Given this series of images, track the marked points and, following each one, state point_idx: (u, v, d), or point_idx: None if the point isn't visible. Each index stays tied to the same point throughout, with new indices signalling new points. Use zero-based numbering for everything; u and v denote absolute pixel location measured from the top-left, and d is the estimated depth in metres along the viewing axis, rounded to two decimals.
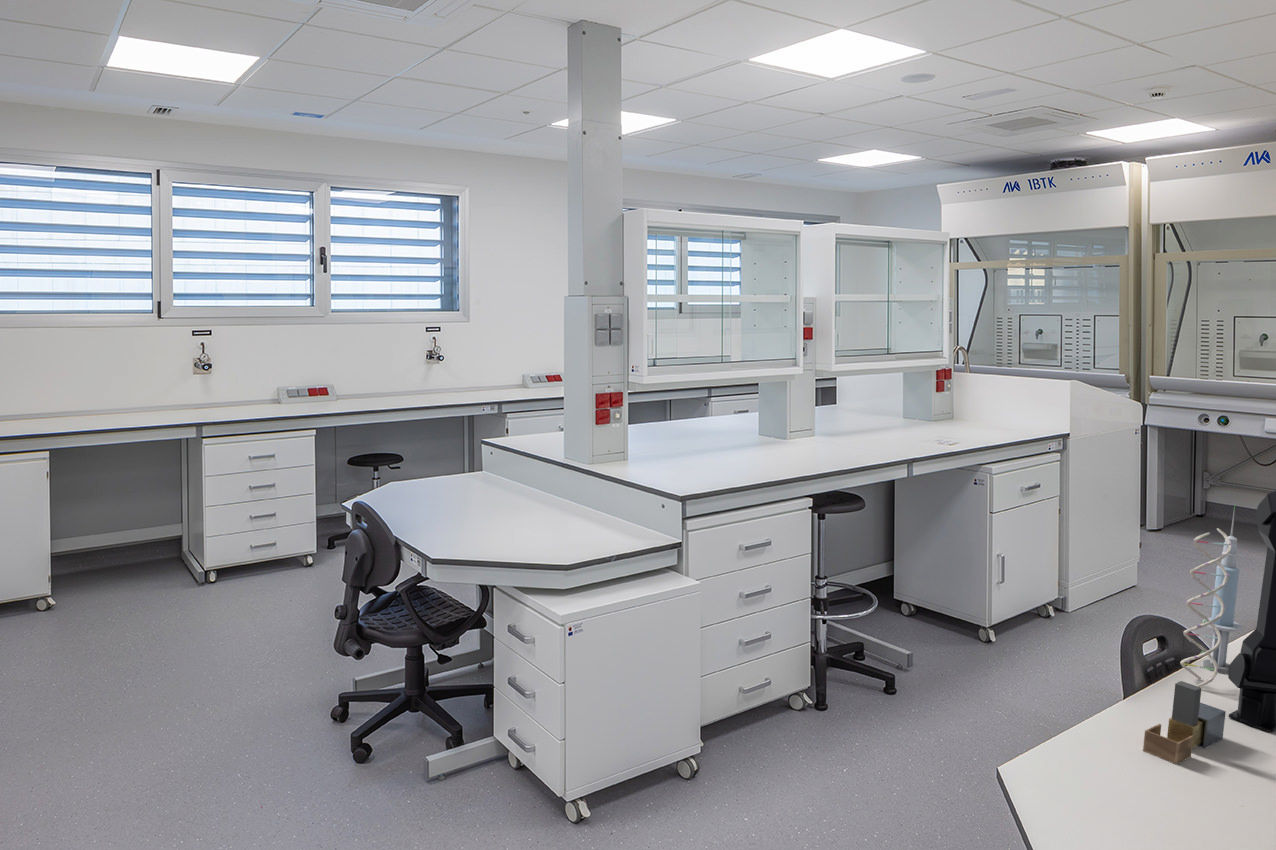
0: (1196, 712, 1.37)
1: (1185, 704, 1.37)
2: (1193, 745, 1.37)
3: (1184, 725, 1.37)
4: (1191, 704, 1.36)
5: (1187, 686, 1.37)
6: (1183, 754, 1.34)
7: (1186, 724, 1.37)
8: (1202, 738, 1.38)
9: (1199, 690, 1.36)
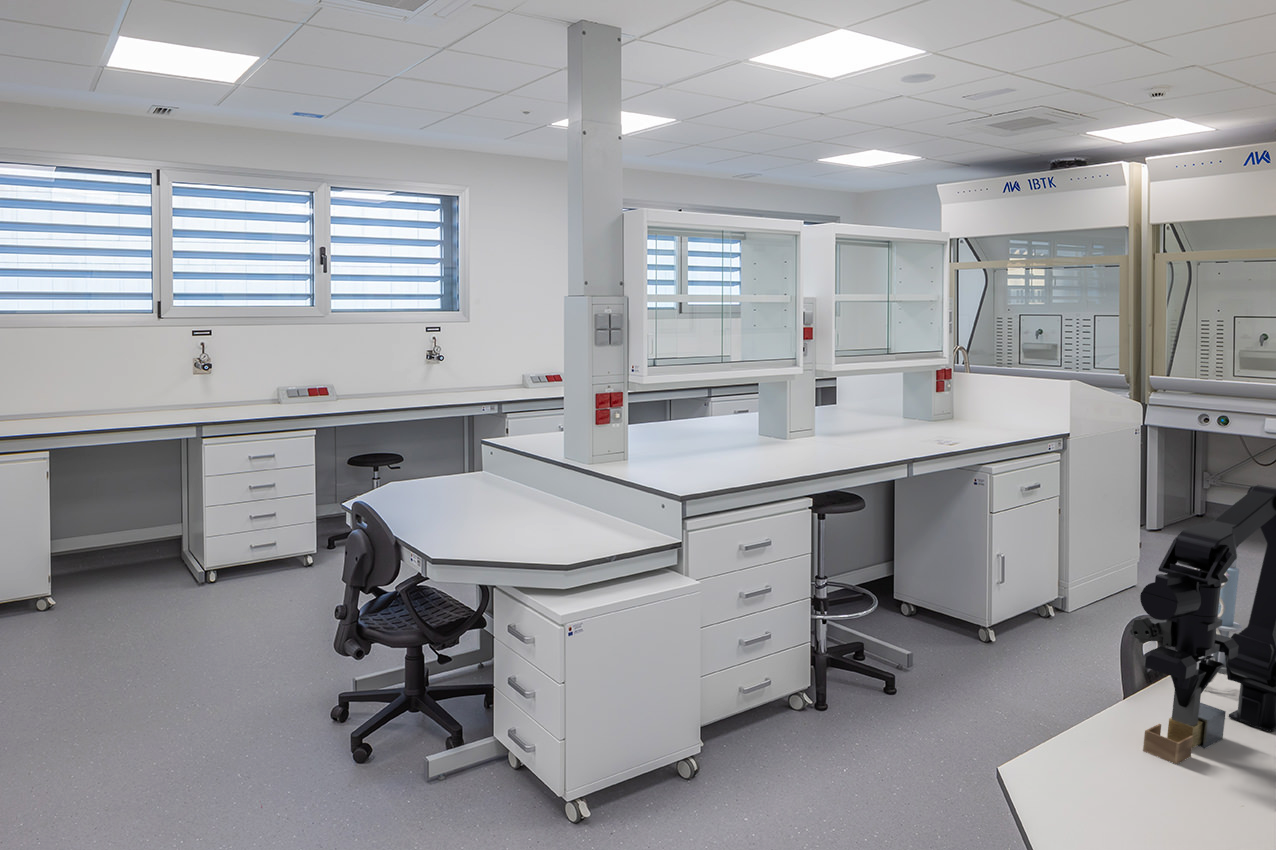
0: (1196, 712, 1.37)
1: None
2: (1193, 745, 1.37)
3: (1184, 725, 1.37)
4: (1191, 704, 1.36)
5: None
6: (1183, 754, 1.34)
7: (1186, 724, 1.37)
8: (1202, 738, 1.38)
9: (1199, 690, 1.36)
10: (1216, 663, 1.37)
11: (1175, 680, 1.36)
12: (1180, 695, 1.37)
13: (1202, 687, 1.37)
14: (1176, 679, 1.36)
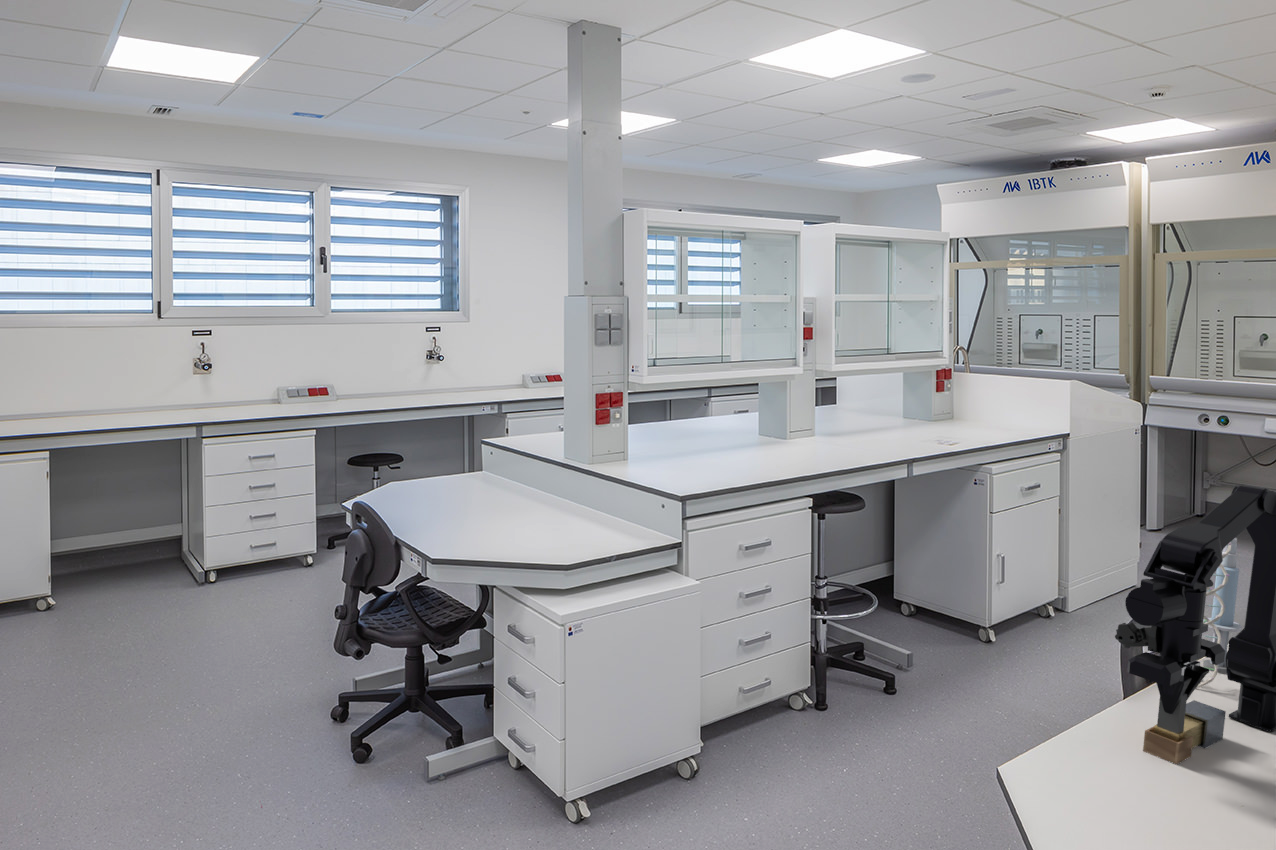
0: (1182, 719, 1.34)
1: None
2: None
3: (1170, 732, 1.34)
4: (1176, 710, 1.34)
5: None
6: (1183, 754, 1.34)
7: (1171, 731, 1.34)
8: None
9: (1185, 696, 1.34)
10: (1202, 669, 1.34)
11: (1160, 686, 1.34)
12: (1166, 701, 1.34)
13: (1188, 693, 1.34)
14: (1161, 685, 1.34)
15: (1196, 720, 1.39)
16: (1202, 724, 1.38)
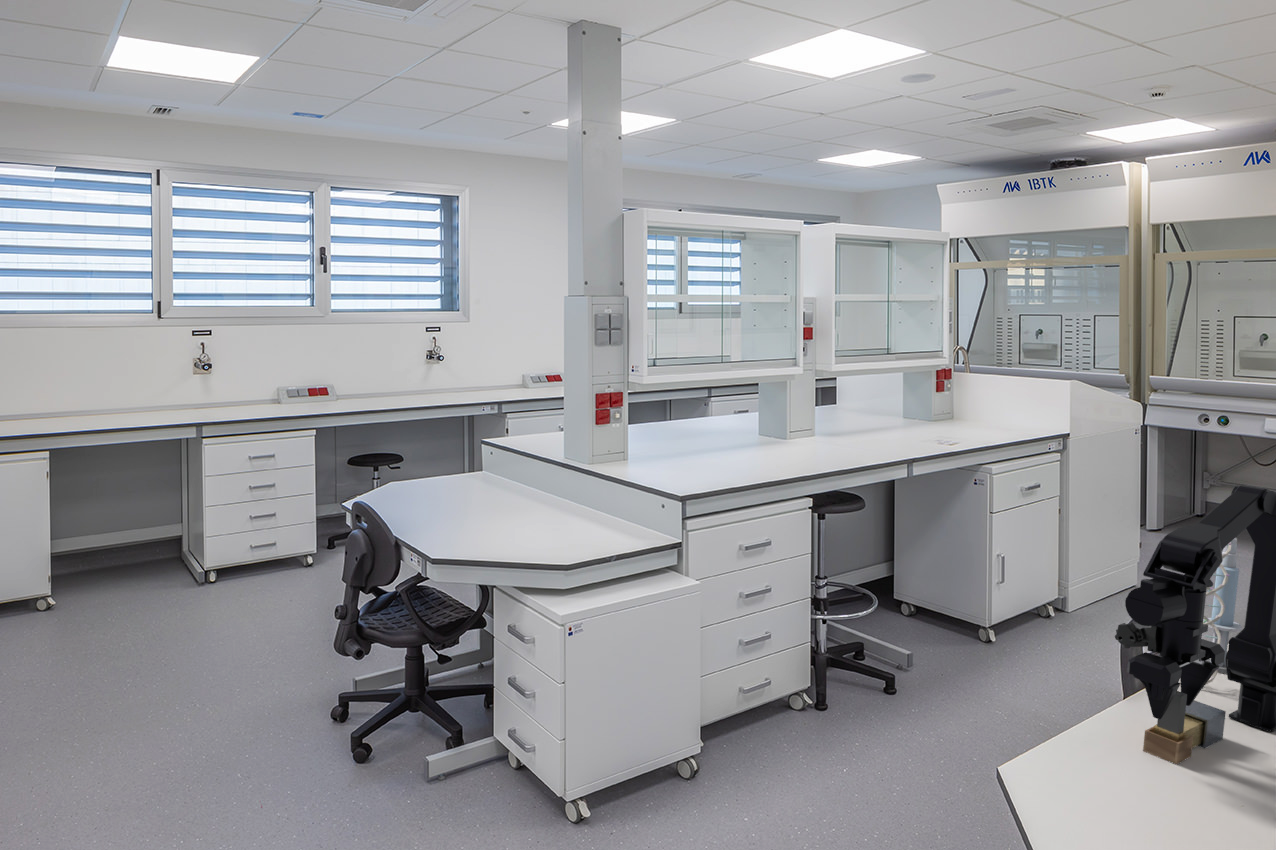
0: (1182, 719, 1.34)
1: (1171, 710, 1.34)
2: None
3: (1169, 732, 1.34)
4: (1176, 711, 1.34)
5: None
6: (1183, 754, 1.34)
7: (1171, 731, 1.34)
8: None
9: (1184, 696, 1.34)
10: (1212, 665, 1.36)
11: (1149, 691, 1.32)
12: (1155, 706, 1.32)
13: (1198, 689, 1.36)
14: (1150, 690, 1.32)
15: (1196, 720, 1.39)
16: (1202, 724, 1.38)
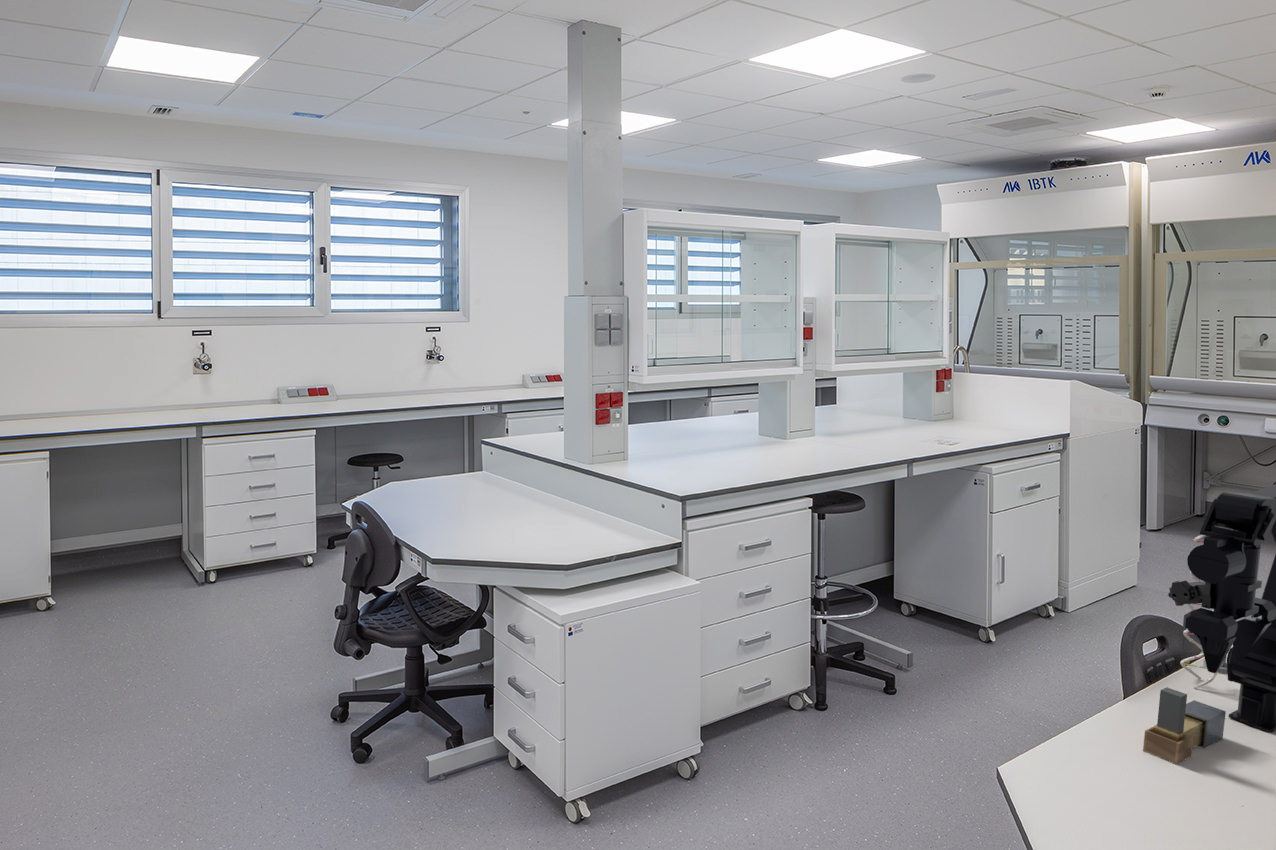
0: (1182, 719, 1.34)
1: (1171, 710, 1.34)
2: None
3: (1169, 732, 1.34)
4: (1176, 711, 1.34)
5: (1172, 693, 1.34)
6: (1183, 754, 1.34)
7: (1171, 731, 1.34)
8: None
9: (1184, 696, 1.34)
10: (1264, 622, 1.39)
11: (1204, 646, 1.35)
12: (1210, 661, 1.35)
13: (1250, 645, 1.39)
14: (1205, 645, 1.35)
15: (1196, 720, 1.39)
16: (1202, 724, 1.38)
